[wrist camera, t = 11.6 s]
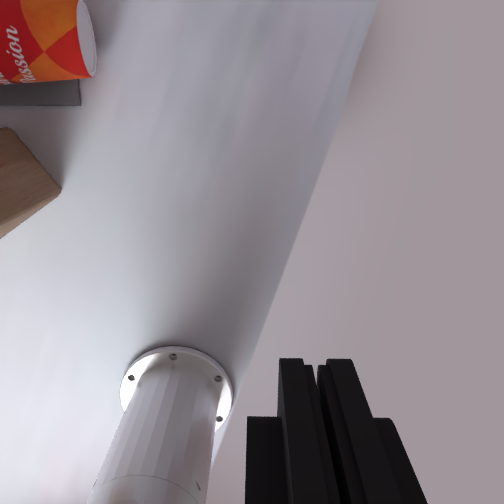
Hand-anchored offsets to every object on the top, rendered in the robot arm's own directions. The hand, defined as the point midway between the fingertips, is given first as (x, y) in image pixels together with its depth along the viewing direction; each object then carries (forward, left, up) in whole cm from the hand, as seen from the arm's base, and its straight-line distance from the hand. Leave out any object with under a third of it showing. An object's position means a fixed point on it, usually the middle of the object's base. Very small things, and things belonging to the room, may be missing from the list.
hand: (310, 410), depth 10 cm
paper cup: (+11, +14, -29) cm, 34 cm away
